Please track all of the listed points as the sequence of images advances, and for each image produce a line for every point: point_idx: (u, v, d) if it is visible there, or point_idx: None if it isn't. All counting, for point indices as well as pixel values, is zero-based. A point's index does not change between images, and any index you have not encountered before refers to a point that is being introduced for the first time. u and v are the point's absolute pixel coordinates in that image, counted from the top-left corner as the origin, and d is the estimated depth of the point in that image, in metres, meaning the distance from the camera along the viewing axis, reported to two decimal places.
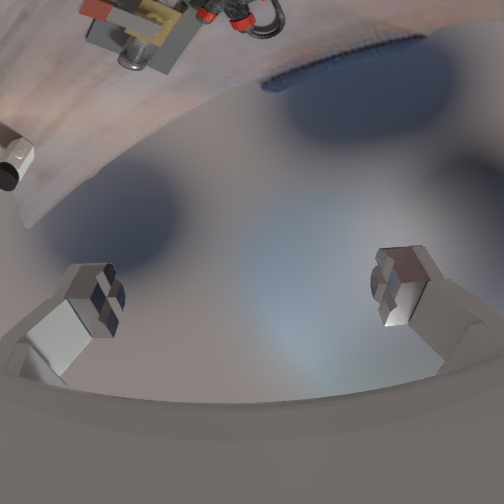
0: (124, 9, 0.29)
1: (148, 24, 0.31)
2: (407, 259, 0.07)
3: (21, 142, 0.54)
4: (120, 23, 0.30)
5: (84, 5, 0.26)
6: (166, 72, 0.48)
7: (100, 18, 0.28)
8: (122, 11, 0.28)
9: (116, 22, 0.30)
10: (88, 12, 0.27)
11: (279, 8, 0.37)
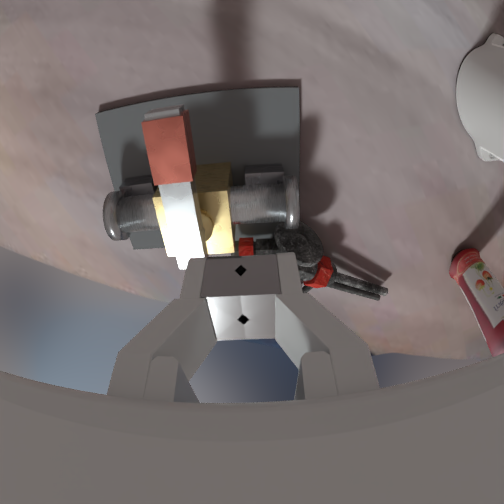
0: (194, 194, 0.23)
1: (196, 251, 0.25)
2: (263, 268, 0.08)
3: None
4: (169, 212, 0.23)
5: (162, 123, 0.18)
6: (135, 246, 0.39)
7: (155, 173, 0.21)
8: (190, 201, 0.22)
9: (166, 203, 0.23)
10: (153, 142, 0.19)
11: None
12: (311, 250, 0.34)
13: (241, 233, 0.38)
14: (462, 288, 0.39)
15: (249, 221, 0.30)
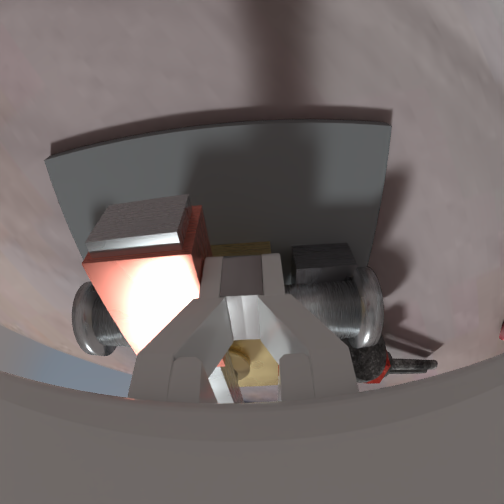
0: (226, 362, 0.12)
1: None
2: (247, 269, 0.08)
3: None
4: None
5: (137, 270, 0.07)
6: None
7: None
8: (219, 383, 0.11)
9: None
10: (124, 307, 0.08)
11: None
12: (374, 357, 0.23)
13: None
14: None
15: None
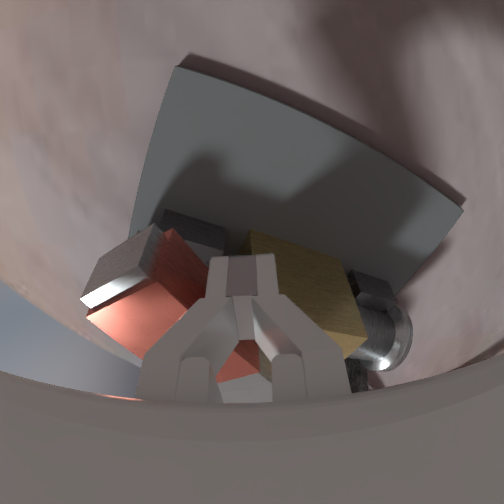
0: None
1: None
2: (241, 270, 0.08)
3: None
4: None
5: (127, 309, 0.07)
6: None
7: None
8: (269, 388, 0.11)
9: (227, 398, 0.11)
10: (138, 342, 0.08)
11: None
12: (362, 382, 0.25)
13: None
14: None
15: None
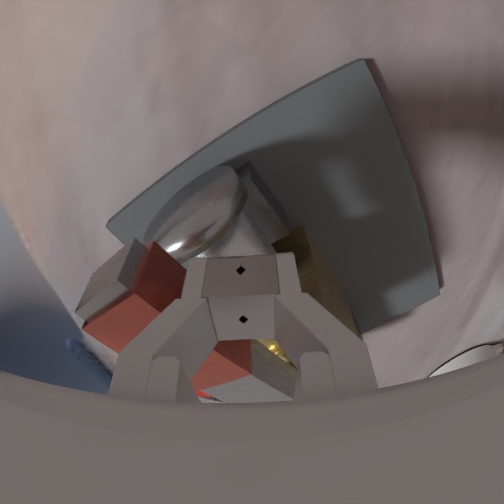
0: (269, 366, 0.11)
1: None
2: (262, 269, 0.08)
3: None
4: None
5: (115, 319, 0.08)
6: (113, 227, 0.19)
7: None
8: (266, 389, 0.11)
9: (228, 400, 0.12)
10: None
11: (215, 400, 0.33)
12: None
13: None
14: None
15: None
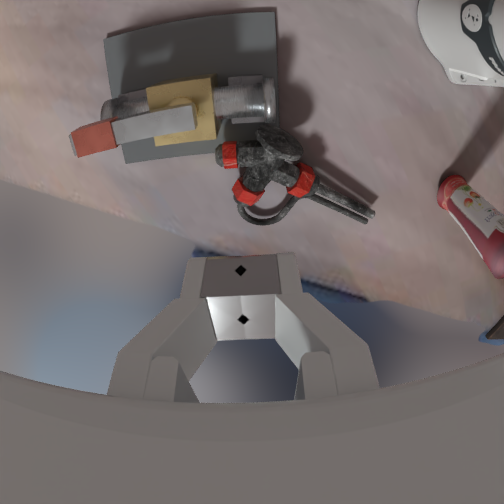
0: (127, 117, 0.26)
1: (172, 114, 0.25)
2: (263, 269, 0.08)
3: None
4: (137, 136, 0.27)
5: (77, 144, 0.26)
6: (127, 160, 0.39)
7: (107, 147, 0.27)
8: (126, 121, 0.25)
9: (130, 139, 0.27)
10: (88, 149, 0.27)
11: (290, 208, 0.43)
12: (290, 148, 0.34)
13: None
14: (451, 211, 0.39)
15: (231, 113, 0.31)
